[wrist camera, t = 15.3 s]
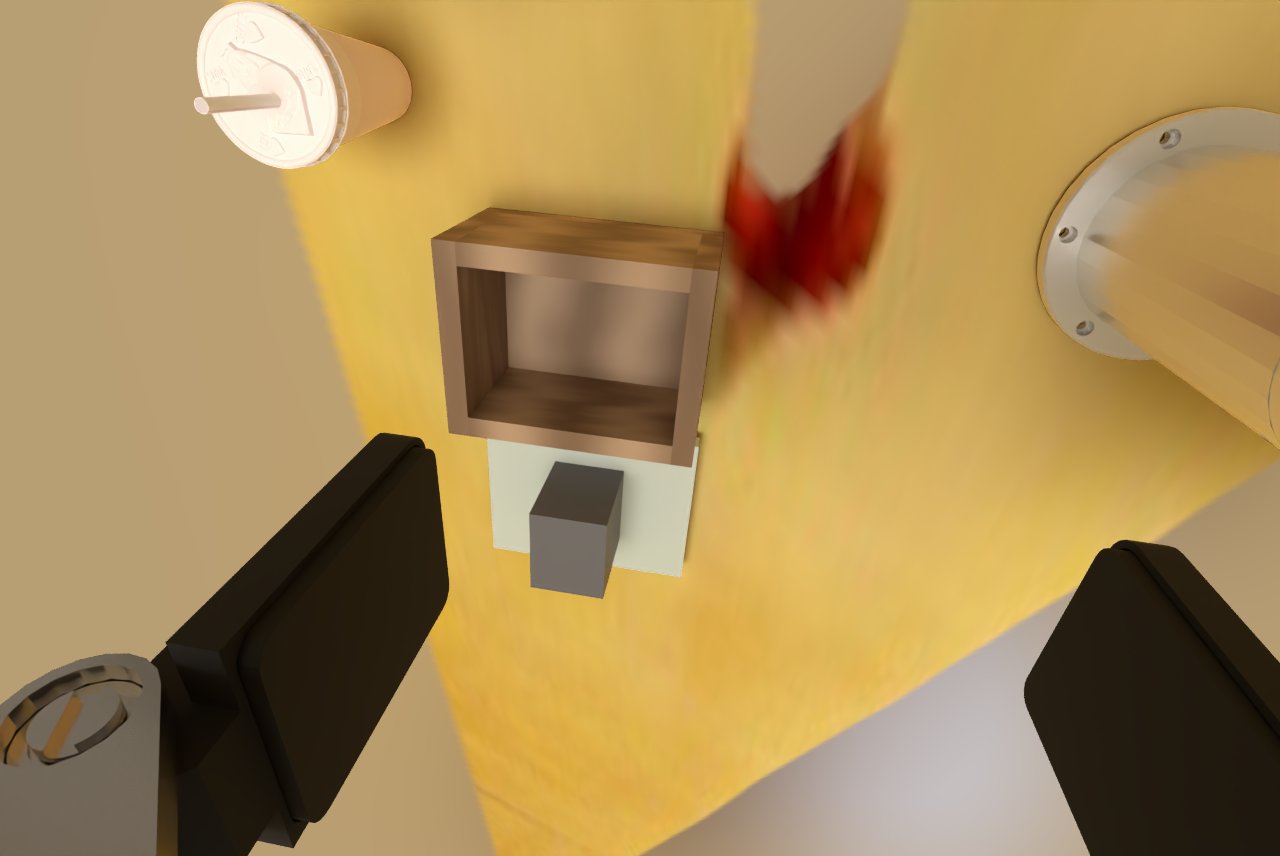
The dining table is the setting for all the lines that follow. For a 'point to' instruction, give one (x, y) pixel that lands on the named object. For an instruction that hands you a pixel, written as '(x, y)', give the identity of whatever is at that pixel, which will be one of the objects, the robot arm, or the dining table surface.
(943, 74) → the dining table surface
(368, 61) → the smoothie
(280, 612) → the robot arm
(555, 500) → the lid
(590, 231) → the wooden box
